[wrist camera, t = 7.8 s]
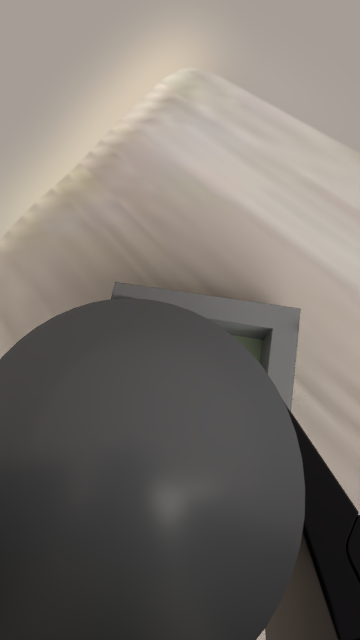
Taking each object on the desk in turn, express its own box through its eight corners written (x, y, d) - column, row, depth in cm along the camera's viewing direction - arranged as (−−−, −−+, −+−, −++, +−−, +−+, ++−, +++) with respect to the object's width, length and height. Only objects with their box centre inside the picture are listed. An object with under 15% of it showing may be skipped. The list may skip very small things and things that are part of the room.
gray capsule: (227, 486, 14) (284, 776, 3) (122, 461, 15) (-111, 633, 4) (243, 375, 15) (320, 325, 4) (145, 357, 16) (10, 278, 5)
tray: (266, 498, 16) (284, 531, 12) (94, 458, 18) (61, 475, 14) (285, 323, 18) (305, 303, 15) (132, 299, 20) (113, 276, 16)
